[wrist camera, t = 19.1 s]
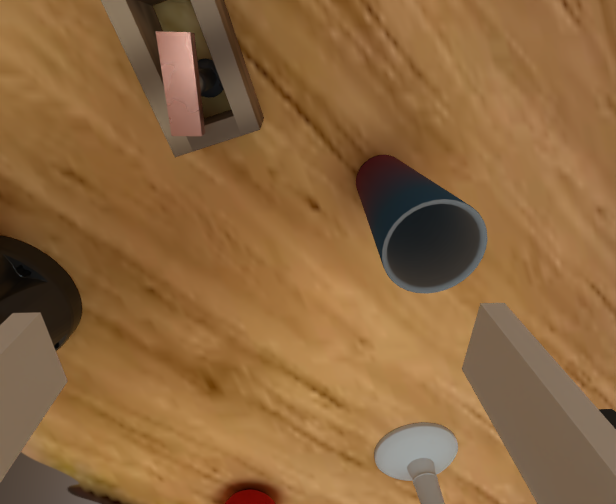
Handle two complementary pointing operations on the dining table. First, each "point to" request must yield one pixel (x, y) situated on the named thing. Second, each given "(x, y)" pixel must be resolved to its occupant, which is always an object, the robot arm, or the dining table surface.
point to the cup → (419, 227)
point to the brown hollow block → (226, 56)
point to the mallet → (186, 82)
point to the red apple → (250, 498)
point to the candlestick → (418, 457)
